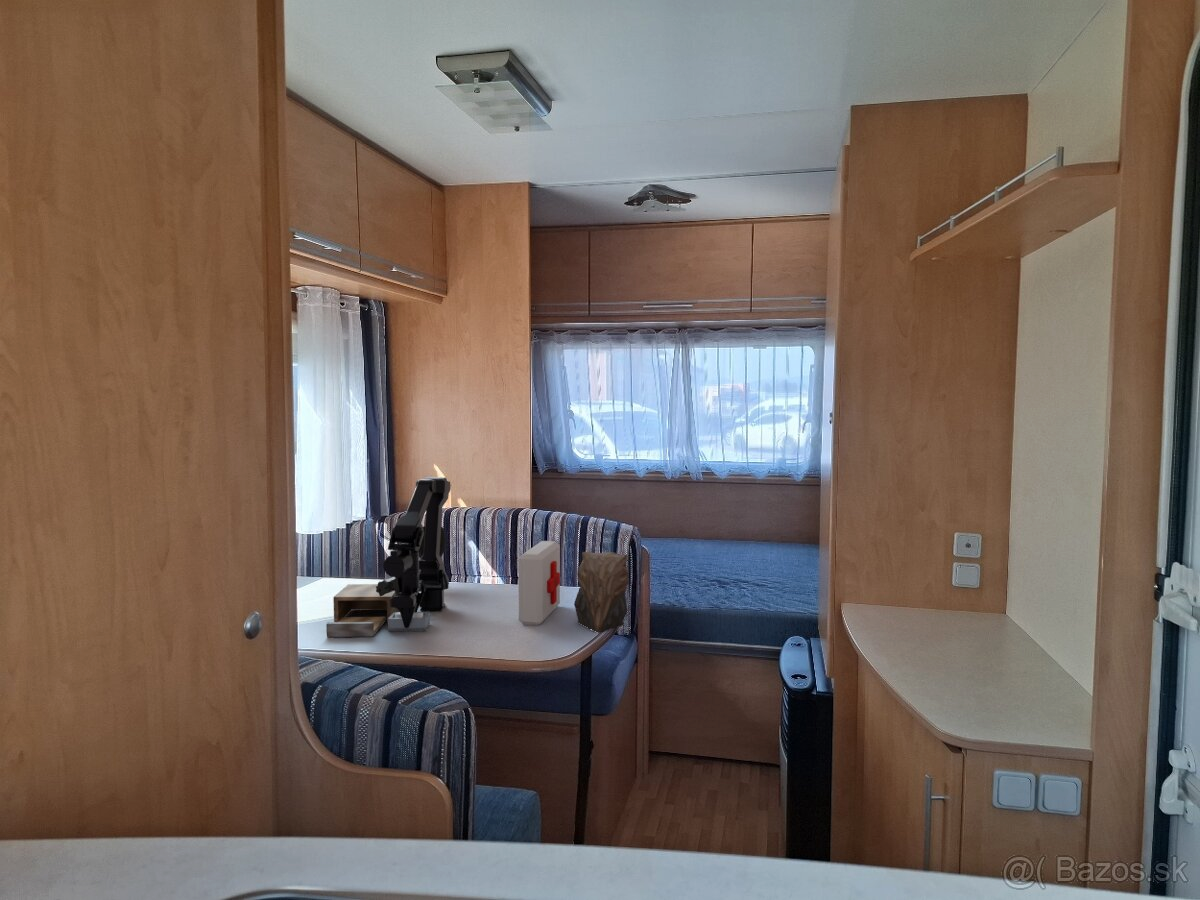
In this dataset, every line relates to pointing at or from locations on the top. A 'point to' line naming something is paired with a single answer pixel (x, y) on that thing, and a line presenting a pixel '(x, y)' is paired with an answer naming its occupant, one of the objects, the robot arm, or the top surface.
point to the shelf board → (354, 626)
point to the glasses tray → (417, 623)
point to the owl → (602, 590)
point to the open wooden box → (361, 600)
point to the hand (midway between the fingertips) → (409, 624)
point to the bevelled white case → (539, 582)
